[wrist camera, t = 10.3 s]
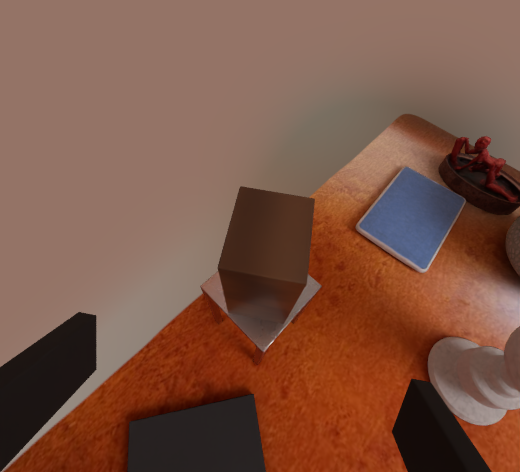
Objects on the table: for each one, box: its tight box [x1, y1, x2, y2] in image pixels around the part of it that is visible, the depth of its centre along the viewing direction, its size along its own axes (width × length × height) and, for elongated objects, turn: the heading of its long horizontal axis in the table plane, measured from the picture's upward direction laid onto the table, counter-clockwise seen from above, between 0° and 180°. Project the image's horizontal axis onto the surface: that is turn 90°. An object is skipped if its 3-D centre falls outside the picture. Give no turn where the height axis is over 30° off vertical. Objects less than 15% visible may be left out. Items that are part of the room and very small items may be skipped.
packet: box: [218, 187, 315, 324], centre depth 20 cm, size 5×6×10 cm
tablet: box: [356, 166, 466, 273], centre depth 46 cm, size 19×13×1 cm, turn 139°
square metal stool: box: [201, 271, 322, 365], centre depth 31 cm, size 8×8×14 cm
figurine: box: [439, 136, 520, 215], centre depth 49 cm, size 15×10×10 cm, turn 53°
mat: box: [127, 394, 266, 472], centre depth 29 cm, size 14×9×1 cm, turn 101°
